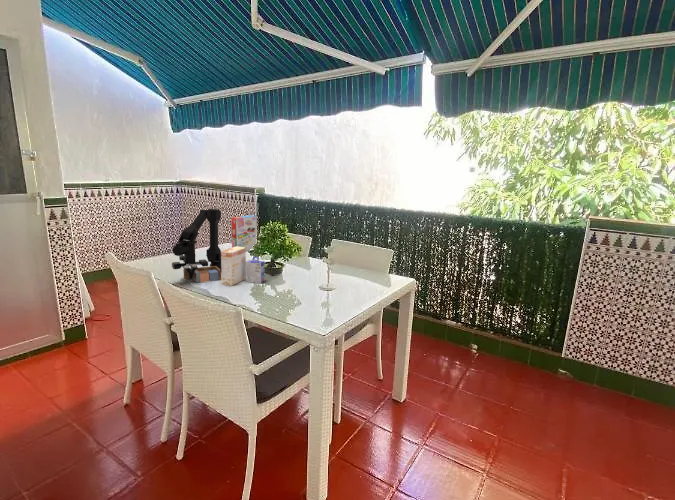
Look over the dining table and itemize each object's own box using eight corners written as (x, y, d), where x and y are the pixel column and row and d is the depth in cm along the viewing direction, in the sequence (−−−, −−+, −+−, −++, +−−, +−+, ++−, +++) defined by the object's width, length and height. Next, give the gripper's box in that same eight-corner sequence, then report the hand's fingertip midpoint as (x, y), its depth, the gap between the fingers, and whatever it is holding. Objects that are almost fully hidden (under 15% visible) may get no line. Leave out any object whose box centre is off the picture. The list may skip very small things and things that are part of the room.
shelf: (216, 275, 230) (215, 265, 229) (221, 279, 222) (221, 270, 220) (183, 279, 220) (183, 269, 218) (187, 284, 211) (187, 273, 210)
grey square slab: (197, 279, 220) (197, 270, 219) (200, 282, 215) (199, 272, 214) (193, 279, 219) (193, 270, 218) (196, 282, 214) (195, 273, 213)
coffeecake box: (236, 277, 228) (235, 246, 223) (246, 279, 225) (246, 247, 221) (221, 284, 214) (220, 250, 210) (231, 286, 212) (231, 252, 207)
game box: (252, 248, 306) (252, 215, 300) (256, 249, 303) (256, 215, 297) (231, 252, 290) (231, 217, 284) (236, 253, 287) (235, 218, 281)
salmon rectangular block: (206, 278, 223) (206, 270, 222) (209, 281, 218) (208, 273, 217) (197, 279, 220) (197, 271, 219) (200, 282, 215) (199, 274, 214)
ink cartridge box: (264, 280, 223) (265, 257, 220) (261, 283, 218) (261, 259, 215) (249, 279, 225) (249, 255, 222) (245, 281, 220) (245, 257, 217)
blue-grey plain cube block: (215, 277, 226) (215, 269, 225) (218, 280, 221) (218, 272, 220) (207, 278, 223) (206, 270, 222) (210, 281, 218) (209, 273, 217)
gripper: (203, 247, 223) (203, 273, 226) (169, 250, 213) (170, 276, 216) (208, 252, 214) (208, 278, 217) (173, 254, 204) (174, 282, 207)
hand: (190, 278), depth 215 cm, fingers closed
